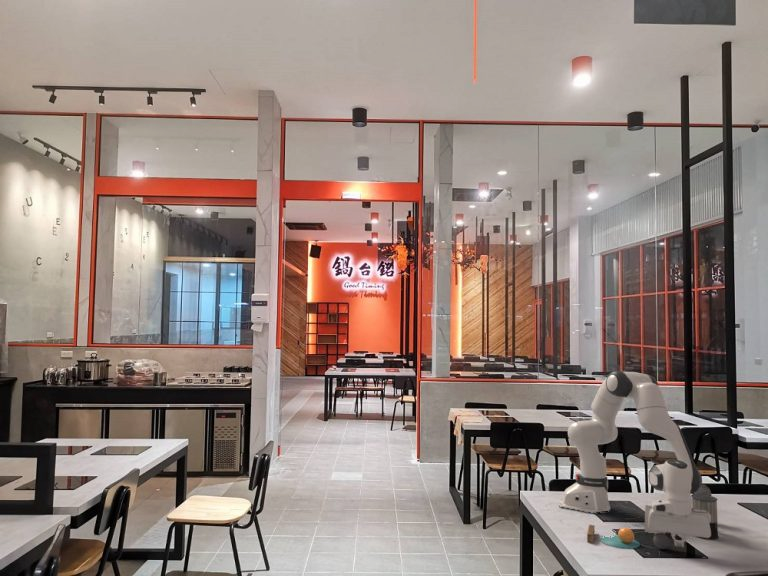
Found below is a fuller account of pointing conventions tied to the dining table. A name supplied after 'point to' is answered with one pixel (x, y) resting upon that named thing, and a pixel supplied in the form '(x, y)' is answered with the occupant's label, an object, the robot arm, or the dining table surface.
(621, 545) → the teal ellipsoid
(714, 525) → the milk frother
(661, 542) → the gray ball
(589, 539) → the wall
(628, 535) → the orange ball
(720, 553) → the dining table surface
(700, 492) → the beverage cup
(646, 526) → the white carton box
